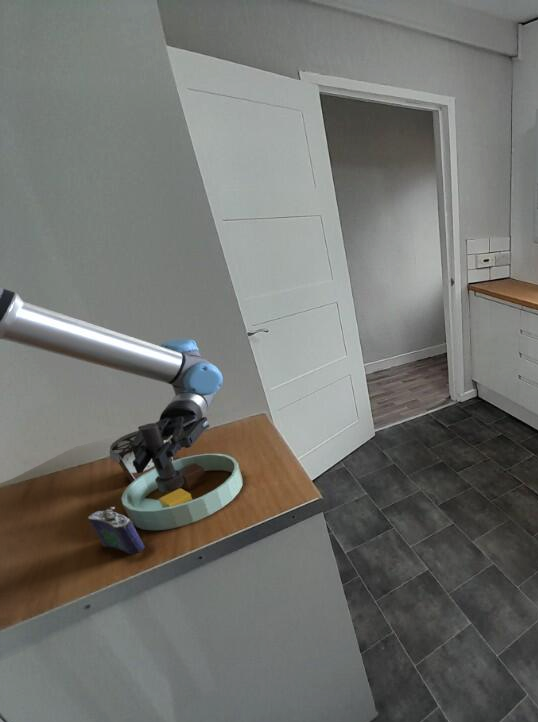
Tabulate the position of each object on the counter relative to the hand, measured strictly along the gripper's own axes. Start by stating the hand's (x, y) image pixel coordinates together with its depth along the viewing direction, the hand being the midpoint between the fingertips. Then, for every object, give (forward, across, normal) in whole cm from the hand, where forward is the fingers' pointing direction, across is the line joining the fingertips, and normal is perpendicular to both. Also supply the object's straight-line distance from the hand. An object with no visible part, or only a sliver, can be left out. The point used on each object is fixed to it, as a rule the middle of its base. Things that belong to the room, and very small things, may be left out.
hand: (148, 465), depth 81 cm
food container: (-21, +10, -13) cm, 27 cm away
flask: (+9, +4, -13) cm, 17 cm away
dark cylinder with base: (-5, 0, -9) cm, 11 cm away
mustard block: (0, -2, -12) cm, 13 cm away
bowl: (-5, -2, -13) cm, 14 cm away
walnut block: (-10, -2, -12) cm, 16 cm away
